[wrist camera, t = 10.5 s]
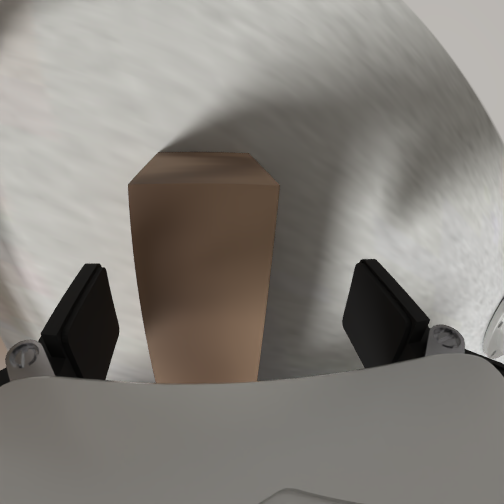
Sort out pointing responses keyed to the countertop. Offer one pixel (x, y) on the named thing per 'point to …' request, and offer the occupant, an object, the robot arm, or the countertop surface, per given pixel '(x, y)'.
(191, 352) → the brown block
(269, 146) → the countertop surface
